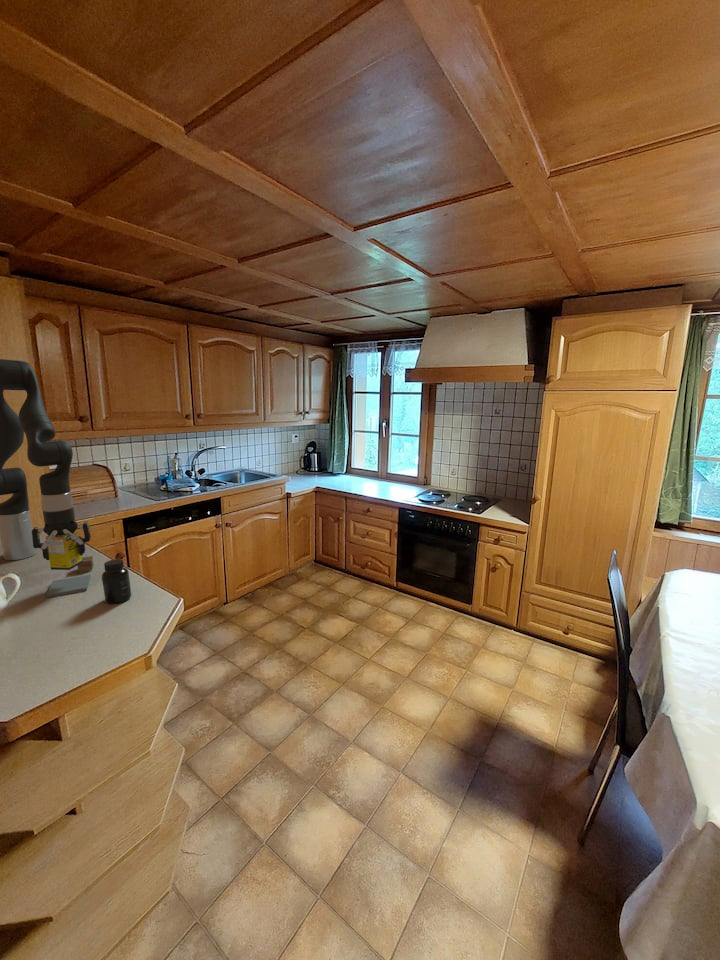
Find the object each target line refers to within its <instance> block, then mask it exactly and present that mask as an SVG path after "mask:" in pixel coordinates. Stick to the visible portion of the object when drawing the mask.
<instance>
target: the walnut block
mask: <svg viewBox="0 0 720 960" xmlns="http://www.w3.org/2000/svg"><path fill="white" fill-rule="evenodd" d="M93 566H94V559H93V556H92V555H91V556H90V555H89V556H84V557H83V556H82V563H80V564H79V565H77V566H76V567H77V571H78V572H81V573H85V572H84V571H87V572H90V571H89V570H92V569H94V567H93ZM92 571H93V570H92Z"/></svg>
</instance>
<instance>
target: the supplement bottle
mask: <svg viewBox="0 0 720 960" xmlns="http://www.w3.org/2000/svg"><path fill="white" fill-rule="evenodd" d="M103 565H104V568H103V569H104V571H103V573H102V574H101V581H102V588H103V594H104V595H103V596H104V601H105V602H106V603H107V604H109V605H117V604H121V603H125V602H126V601H128V600H129V599H130V598H131V597H132V590H131V581H130V572H129V569H128V568H126V567H125V564H124V560H123V559H120V558H115V559H109V560H108V561H107V560H106V562H104V563H103Z"/></svg>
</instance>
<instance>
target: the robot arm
mask: <svg viewBox="0 0 720 960" xmlns="http://www.w3.org/2000/svg"><path fill="white" fill-rule="evenodd" d="M4 391H25V392H26V398H25V400H24V402H23V403H22V405H21V407H20V408H19V411H18V412H19V413H18V414H17V413H16V411H14V409H13V408H12V407H11V406H10V404H8V402H7V400H6V399H5V396H4ZM43 399H44V398H43V396H42V393H41V389H40V384H39V382H38V378H37V375H36V372H35V370H34V367H33V366H32V365H31V364H30V363H29V362H27V361H25V360H24V361H23V360H17V359H14V360H13V359H3V358H0V496H4V495H5V496H6V495H11V496H10V497H9V498H8V499H7V500H5V501H3V502H0V544H1V549H2V555H3V560H5V561H18V560H24V559H27V558H30V557H32V556H34V555H36V554H37V549H40V550H42V558H43V560H44V559H45V560H46V561H50V560H49V554H48V548H47V546H48V545H49V543H50V542H51V541H52V537H54V536H56V535H64V534H66V535H70V534H71V535H70V536H71V538H72V539H73V540H75V541H76V542H77V543H79V545H78V546H79V553H80V556H81V555H82V556H83V555H84V554H85V552H86V545H85V543H89V542H90V541H91V538H92V536H91V532H90V531H91V530H90V526H89V525H90V523H89V522H88V521H84V522H81V523H77V521H76V515H75V508H74V500H73V497H72V496H73V495H72V493H71V486H70V471H71V465H72V462H73V461H72V460H73V457H74V456H73V455H74V453H73V449H72V448H73V447H72V446H71V445H70V444H69V443H68V442H67V441H64V440H55V441H52V440H53V439H54V438H55V437H56V430H55V427H54V426H53V423H52V421H51V419H50V417H49V415H48V412H47V411H46V408H45V404H44V400H43ZM24 437H26V443H27V452H26V453H27V460H28V461H29V463H30V464H32V465H33V466H35V467H41V468H42V467H50V466H51V467H52V466H56V467H55V469H54V470H52V471H51V472H46V473H43V474H42V475H40V477H38V478H39V479H38V481H39V487H40V494H41V495H40V497H41V499H40V500H41V501H40V502H41V509H42V515H43V521H44V527H38V526H35V527H34V528H33V524H32V518H31V512H30V511H31V510H30V507H29V506H30V504H29V495H28V483H27V476H26V472H25V471H24V470H23V469H22V468H21V467H9V468H4V466H5V464H6V462H7V461H8V460H9V459H10V458H11V457H13V455H14V454H15V453H17V451H19V449H20V448H21V447H22V445H23V444H24ZM78 528H79V529H80V530H81V531H83V534H84V537H82V536H81V535H80V534H79V535H78V534H77V535H74V532H75V531H77V530H78ZM43 532H44V533H45V534H46V536H48V535H49V537H48V538H47V540H46V539H45V541H44V542H41V538H40V537H41V535H42V533H43ZM49 539H50V540H49Z"/></svg>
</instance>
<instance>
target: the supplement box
mask: <svg viewBox="0 0 720 960" xmlns="http://www.w3.org/2000/svg"><path fill="white" fill-rule="evenodd" d="M77 534H78V535H80V533H79V530H76V531H75V532H74V535H77ZM70 535H71V534H70ZM70 535H66V534H64V535H56V536H54V537H52V541H51V542H50V543H49V545H48V546H47V548H48V554H49V560H48V561H49V565H50V570H57V571H58V570H59V571H60V570H61V571H62V570H64V571H70V570H72V569H74V568H76V567H78V566H77V565H79V564H80V563H82V557H83V555H81V556H80V553H79V546H78V545H79V543H77V542H76V541H75V540H73V539H72V538H71V536H70ZM48 537H49V535H46V536H45V541H46V540H47V538H48ZM49 540H50V539H49Z"/></svg>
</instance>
